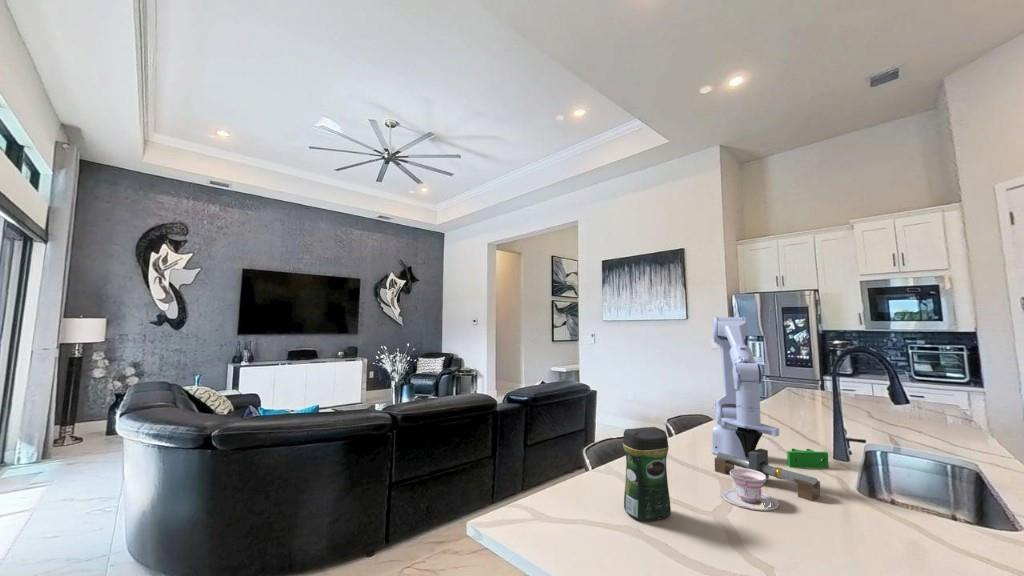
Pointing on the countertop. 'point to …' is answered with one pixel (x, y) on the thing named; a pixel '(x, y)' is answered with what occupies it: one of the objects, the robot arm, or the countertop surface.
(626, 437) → the coffee jar
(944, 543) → the countertop surface
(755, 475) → the teacup
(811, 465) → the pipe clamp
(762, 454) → the collar
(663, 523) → the countertop surface
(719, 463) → the pipe rig
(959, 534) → the countertop surface
